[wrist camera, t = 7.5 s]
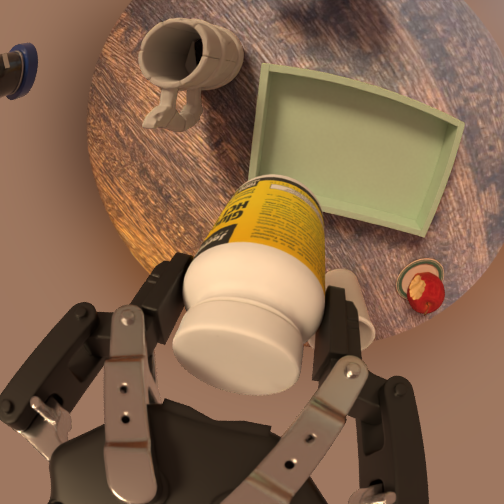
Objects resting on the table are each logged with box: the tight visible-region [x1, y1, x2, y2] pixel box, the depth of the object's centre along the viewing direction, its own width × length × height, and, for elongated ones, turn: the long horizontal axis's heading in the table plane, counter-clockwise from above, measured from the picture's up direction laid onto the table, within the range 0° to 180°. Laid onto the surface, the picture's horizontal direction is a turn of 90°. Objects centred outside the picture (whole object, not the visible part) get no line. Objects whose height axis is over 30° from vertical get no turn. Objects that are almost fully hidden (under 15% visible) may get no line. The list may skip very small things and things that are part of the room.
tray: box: [248, 63, 465, 237], centre depth 26 cm, size 22×15×3 cm
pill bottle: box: [173, 174, 325, 395], centre depth 13 cm, size 6×6×11 cm
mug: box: [138, 18, 244, 132], centre depth 20 cm, size 8×12×12 cm, turn 168°
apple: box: [396, 258, 445, 315], centre depth 32 cm, size 8×8×6 cm
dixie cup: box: [308, 269, 375, 351], centre depth 34 cm, size 8×8×10 cm
